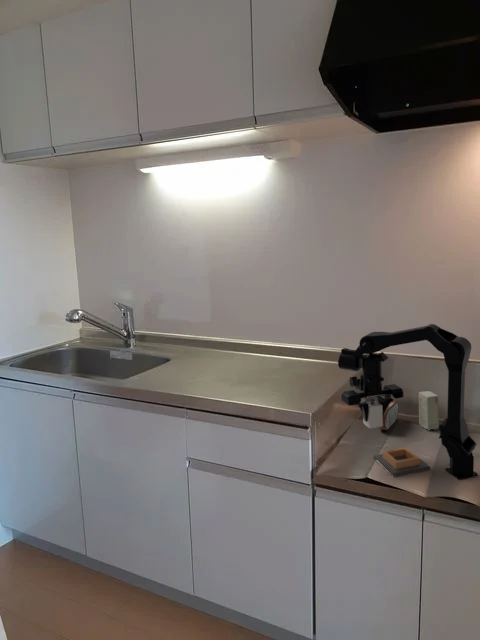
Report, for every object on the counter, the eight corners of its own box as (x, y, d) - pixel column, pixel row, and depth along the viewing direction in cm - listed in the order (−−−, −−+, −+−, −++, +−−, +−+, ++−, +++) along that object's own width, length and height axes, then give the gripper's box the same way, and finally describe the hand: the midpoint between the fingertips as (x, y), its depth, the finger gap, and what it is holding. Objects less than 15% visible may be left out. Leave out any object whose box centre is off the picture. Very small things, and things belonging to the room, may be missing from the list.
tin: (391, 417, 193) (391, 396, 191) (399, 419, 191) (399, 397, 190) (377, 432, 181) (377, 410, 179) (386, 434, 179) (386, 411, 178)
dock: (429, 469, 154) (429, 460, 153) (393, 476, 151) (392, 466, 150) (408, 452, 165) (407, 443, 164) (373, 458, 162) (373, 449, 162)
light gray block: (382, 426, 163) (382, 400, 162) (369, 428, 162) (369, 402, 161) (375, 421, 167) (375, 396, 166) (363, 423, 166) (362, 398, 165)
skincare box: (439, 429, 180) (439, 396, 178) (427, 431, 180) (427, 397, 177) (429, 422, 186) (429, 390, 184) (418, 424, 186) (418, 391, 183)
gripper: (386, 362, 171) (386, 407, 174) (333, 369, 167) (335, 415, 170) (404, 371, 161) (404, 419, 164) (348, 379, 157) (349, 428, 160)
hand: (372, 420), depth 165 cm, fingers closed on light gray block, 4 cm apart
